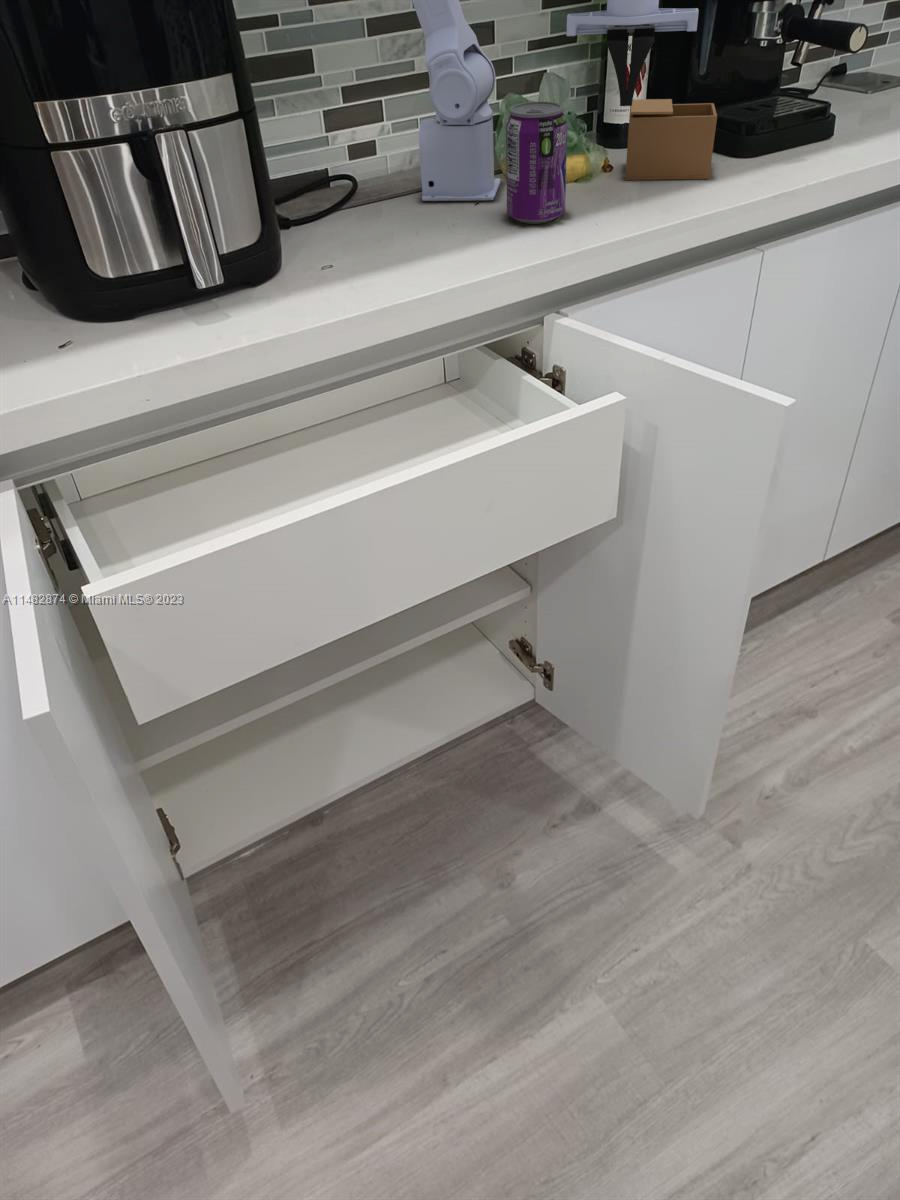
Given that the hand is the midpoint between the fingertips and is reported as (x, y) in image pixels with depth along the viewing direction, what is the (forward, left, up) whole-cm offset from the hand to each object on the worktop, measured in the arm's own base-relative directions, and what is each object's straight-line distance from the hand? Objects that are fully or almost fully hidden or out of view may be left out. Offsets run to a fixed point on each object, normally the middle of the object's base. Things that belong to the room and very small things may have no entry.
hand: (626, 104), depth 104 cm
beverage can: (-10, -8, -11) cm, 17 cm away
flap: (+3, +10, -3) cm, 11 cm away
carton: (+6, +10, -10) cm, 16 cm away
